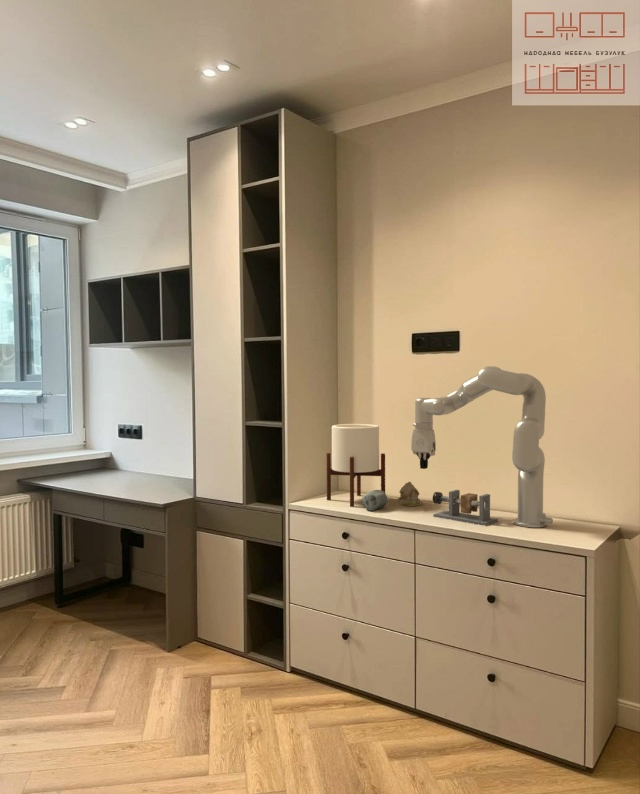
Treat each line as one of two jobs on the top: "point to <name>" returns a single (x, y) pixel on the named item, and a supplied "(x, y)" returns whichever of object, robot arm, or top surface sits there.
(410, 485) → the ceramic model
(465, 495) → the block
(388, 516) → the top surface
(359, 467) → the plant pot with stand
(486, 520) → the grey bearing stand
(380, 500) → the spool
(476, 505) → the shaft
